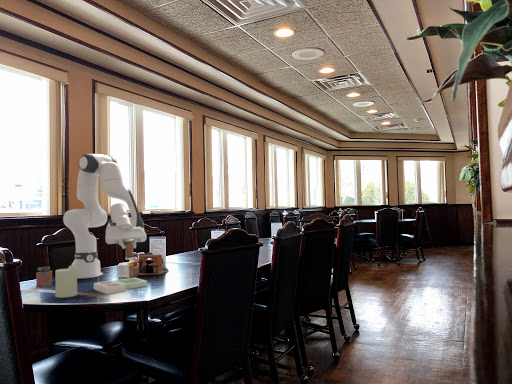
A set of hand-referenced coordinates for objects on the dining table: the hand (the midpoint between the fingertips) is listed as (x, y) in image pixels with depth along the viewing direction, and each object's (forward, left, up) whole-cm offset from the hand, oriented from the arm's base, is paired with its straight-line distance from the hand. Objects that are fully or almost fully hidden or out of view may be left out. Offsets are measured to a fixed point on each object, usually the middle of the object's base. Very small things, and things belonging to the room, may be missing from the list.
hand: (129, 247), depth 209 cm
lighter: (-32, -31, -19) cm, 49 cm away
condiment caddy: (-28, +26, -20) cm, 43 cm away
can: (0, -30, -19) cm, 36 cm away
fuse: (-1, 0, -6) cm, 6 cm away
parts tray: (-1, 0, -19) cm, 19 cm away
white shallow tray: (+2, -11, -19) cm, 22 cm away
